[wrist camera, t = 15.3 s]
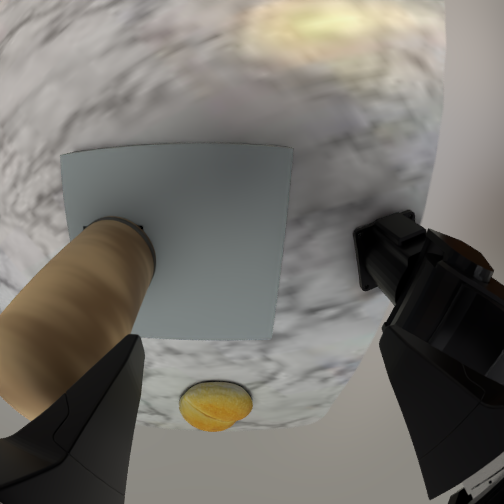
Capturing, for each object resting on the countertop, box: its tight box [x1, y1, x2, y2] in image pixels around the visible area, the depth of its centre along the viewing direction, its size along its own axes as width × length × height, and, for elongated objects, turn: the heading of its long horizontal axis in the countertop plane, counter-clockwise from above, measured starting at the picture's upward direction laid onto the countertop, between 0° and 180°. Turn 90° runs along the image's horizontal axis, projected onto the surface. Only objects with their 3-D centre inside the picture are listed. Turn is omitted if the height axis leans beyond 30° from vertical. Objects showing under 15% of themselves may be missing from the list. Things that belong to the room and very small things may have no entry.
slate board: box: [60, 143, 294, 340], centre depth 20 cm, size 16×16×2 cm
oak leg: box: [0, 216, 156, 421], centre depth 13 cm, size 6×6×15 cm
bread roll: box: [179, 382, 253, 432], centre depth 28 cm, size 8×9×4 cm
